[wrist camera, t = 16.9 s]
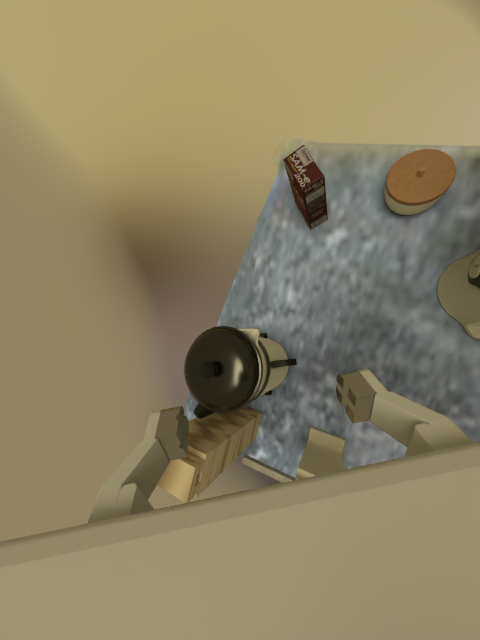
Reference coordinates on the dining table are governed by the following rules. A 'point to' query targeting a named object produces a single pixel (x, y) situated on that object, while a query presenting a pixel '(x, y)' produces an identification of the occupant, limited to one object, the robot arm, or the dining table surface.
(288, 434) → the dining table surface
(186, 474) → the birch bearing block
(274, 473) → the beige mallet
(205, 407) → the coffee press
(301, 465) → the cream rest post
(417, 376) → the dining table surface
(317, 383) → the dining table surface
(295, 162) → the supplement box
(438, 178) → the lidded jar
